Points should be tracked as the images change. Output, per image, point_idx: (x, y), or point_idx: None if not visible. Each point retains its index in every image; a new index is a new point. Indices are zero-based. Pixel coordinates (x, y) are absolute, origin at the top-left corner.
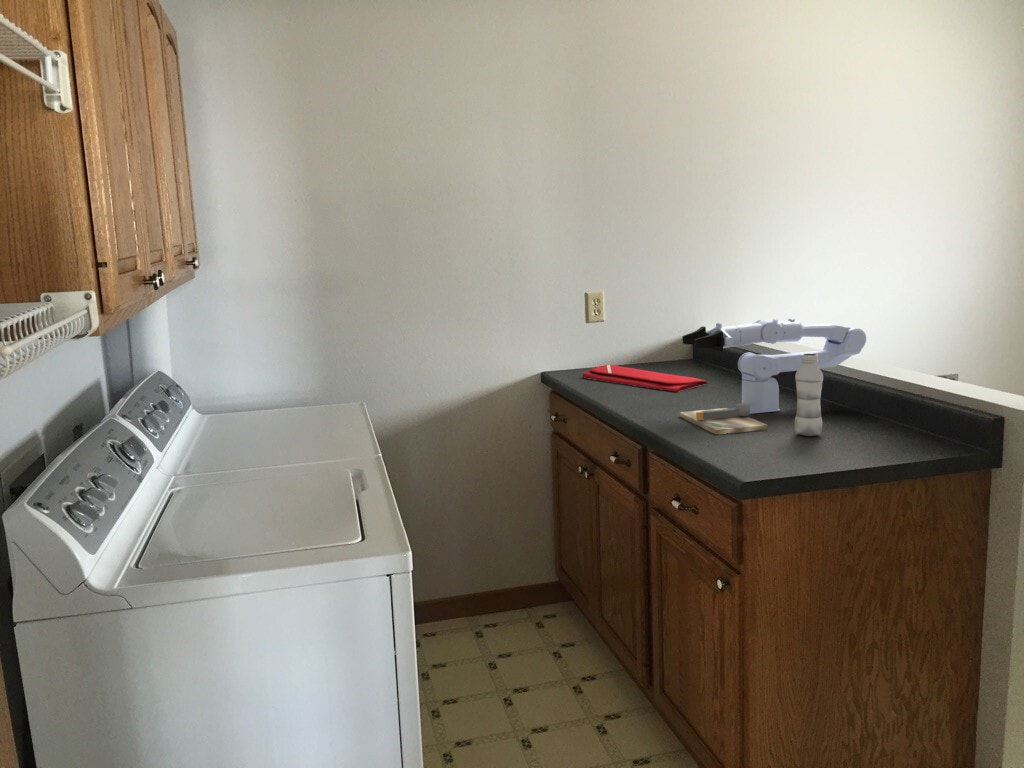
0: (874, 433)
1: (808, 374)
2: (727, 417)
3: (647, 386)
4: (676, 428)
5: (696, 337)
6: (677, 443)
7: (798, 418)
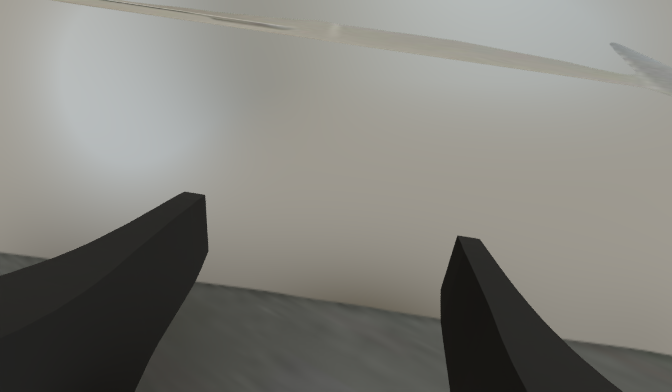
0: None
1: None
2: None
3: None
4: (163, 355)
5: (476, 378)
6: (29, 264)
7: None
